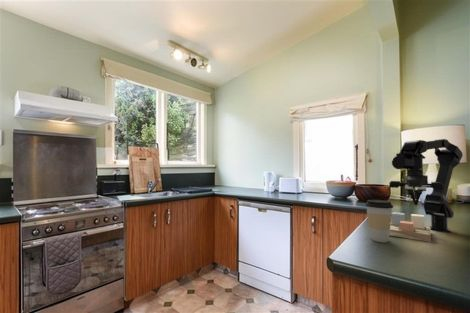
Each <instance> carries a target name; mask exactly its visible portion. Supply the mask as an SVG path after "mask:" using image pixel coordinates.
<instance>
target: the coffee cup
mask: <svg viewBox="0 0 470 313" xmlns="http://www.w3.org/2000/svg"><path fill="white" fill-rule="evenodd" d="M364 206H365V207H366V215H367V216H366V217H367V225H368V227H369V235H370V240H371V241H374V242H377V243H388V242H389V240H390V235H389V231H390V225H391V222H392V209H393V208H394V204H392V201H390V200H384V199H383V200H381V199H367V200H366V203H365V205H364Z"/></svg>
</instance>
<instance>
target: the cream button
mask: <svg viewBox="0 0 470 313" xmlns="http://www.w3.org/2000/svg"><path fill="white" fill-rule="evenodd" d="M410 222H414V228H421V229H425V227H426V225H425V224H426V223H425V214H416V213H415V214H414V213H411V214H410Z"/></svg>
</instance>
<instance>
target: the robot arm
mask: <svg viewBox="0 0 470 313" xmlns="http://www.w3.org/2000/svg"><path fill="white" fill-rule="evenodd" d="M428 150H434V155H435V156H436V158H437V160H436V161H437V162H438V164H439V168H438V171H437V175H436V178H435V181H430V183H429V182H428V181H429V180H428V177H429V176H428V175H427V174H426V175H425V174H424V165H423V164H424V162H423V161H424V160H425V159H426V156H424V155H423V154H424V153H425V152H427V151H428ZM463 155H464V154H463V152H462V150H461V149H460V148H459V147H458V145H455V144H453V143H451V142H450V141H449V139H446V138H443V139H434V140H428V141H426V140H422V139H419V140H418V139H417V140H409V141H407V140H406V141H404V143H403V145H402V147H401V148H400V150H399V153H398V152H397V153H396V155H395V156H394V157H393V159H392V161H391V165H392V167H393V168H394V169H396V170H406V182H401V181H399V180H391V181H390V182H388V183H389V188H392V189H395V188H396V189H398V188H400V187H401V188H403V187H404V190H405V191H408V193H409V196H410V197H411V199H412V201H413V204H414V206H418V204H419V201H420V198H421V195H422V194H423V192H426V191H427V188H429V189H431V188H432V189H433V190H432V191H431V193H430V194H427V193H426V195H425V198H424V200H423V209H424V213H425V215H429V216H430V223H431V224H430V226H429V227H430V231H431V230H432V231H440V232H448V233H450V229H449V228H448V219H453V217H454V211H453V209H452V208H451V206H450V202H449V199H448V198H447V193H448V190H449V187H450V184H451V183H450V182H451V179H452V175H453V171H454V169H455V168H456V167H457V166H459V164H461V160H462V158H463ZM414 188H417V190H416V195H415V190H414Z"/></svg>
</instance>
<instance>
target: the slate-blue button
mask: <svg viewBox="0 0 470 313" xmlns="http://www.w3.org/2000/svg"><path fill="white" fill-rule="evenodd" d="M405 215H406V214H405V213H404V212H396V211H395V212H394V211H393V212H392V211H391V222H392V225H397V226H400V221H406V218H405Z"/></svg>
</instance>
